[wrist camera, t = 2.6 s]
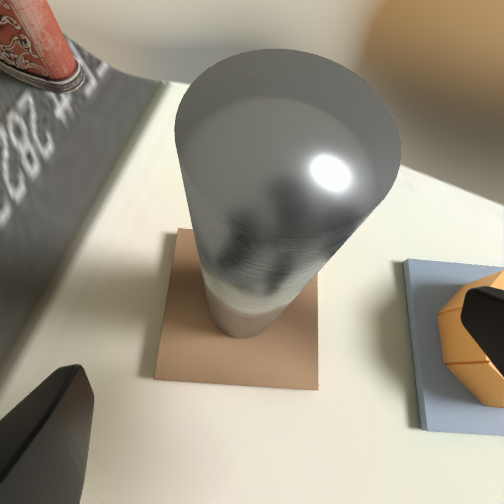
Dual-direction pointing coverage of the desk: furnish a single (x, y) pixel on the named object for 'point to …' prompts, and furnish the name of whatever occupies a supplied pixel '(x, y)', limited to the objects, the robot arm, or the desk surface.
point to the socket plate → (451, 349)
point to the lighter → (36, 47)
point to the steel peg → (278, 175)
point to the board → (230, 348)
